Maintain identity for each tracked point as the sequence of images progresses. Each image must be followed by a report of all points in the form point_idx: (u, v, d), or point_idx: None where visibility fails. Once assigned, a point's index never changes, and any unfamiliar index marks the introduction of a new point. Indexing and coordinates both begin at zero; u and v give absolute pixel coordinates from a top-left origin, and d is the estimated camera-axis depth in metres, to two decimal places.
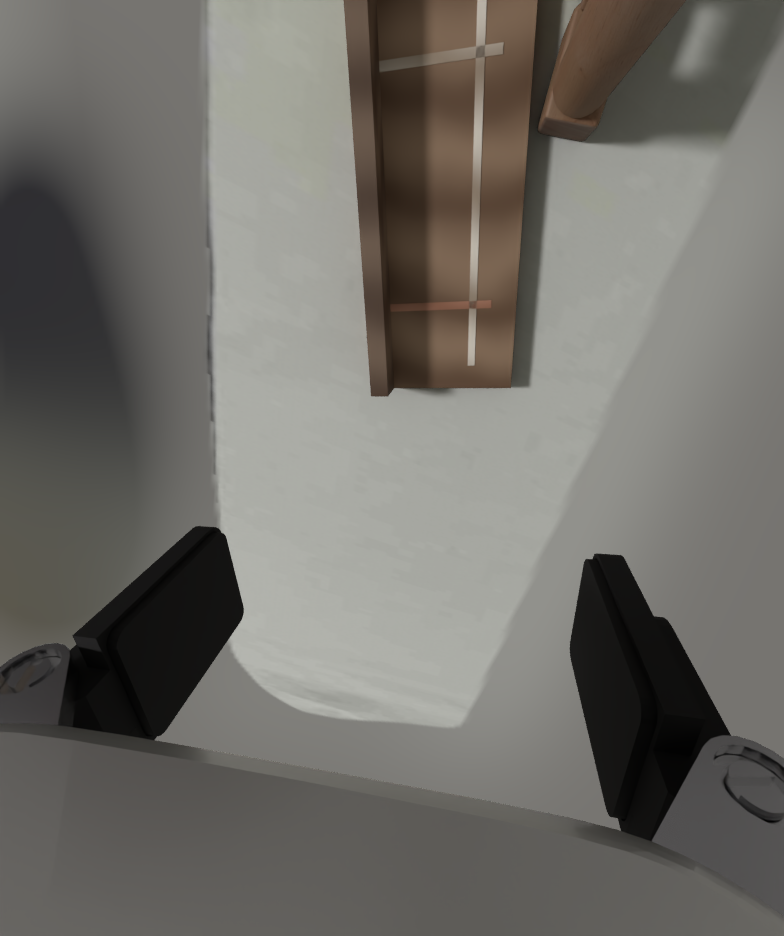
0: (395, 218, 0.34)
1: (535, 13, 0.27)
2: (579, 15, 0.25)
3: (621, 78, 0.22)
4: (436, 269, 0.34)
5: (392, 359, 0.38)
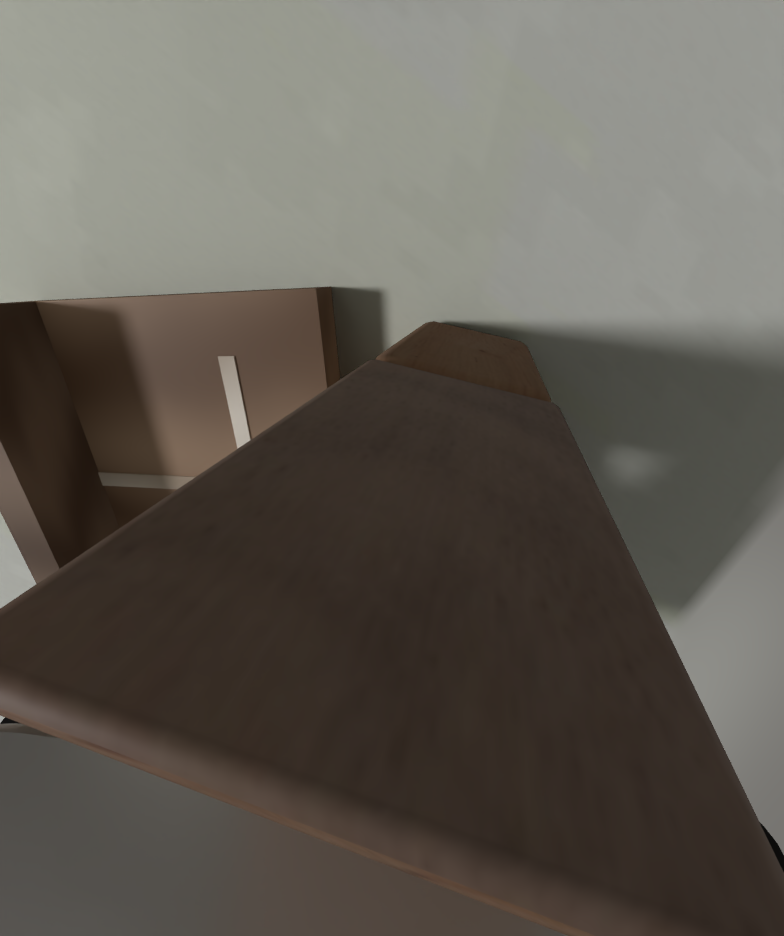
0: None
1: None
2: None
3: None
4: None
5: None
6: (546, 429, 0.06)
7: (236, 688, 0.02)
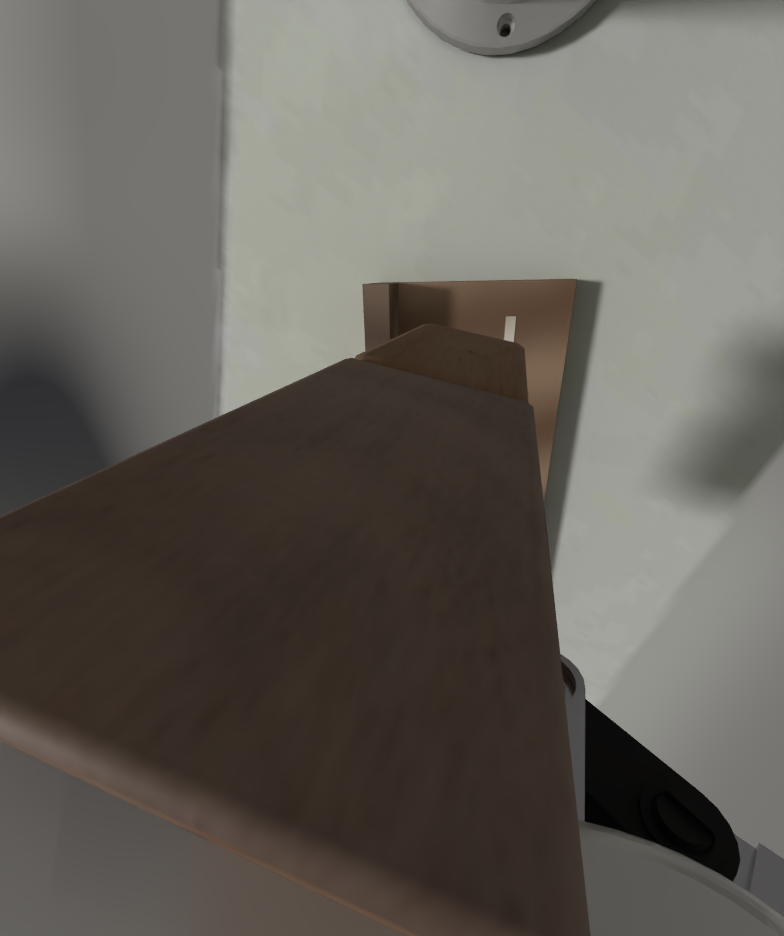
0: None
1: (561, 374, 0.27)
2: None
3: None
4: None
5: None
6: (507, 427, 0.06)
7: (69, 652, 0.02)
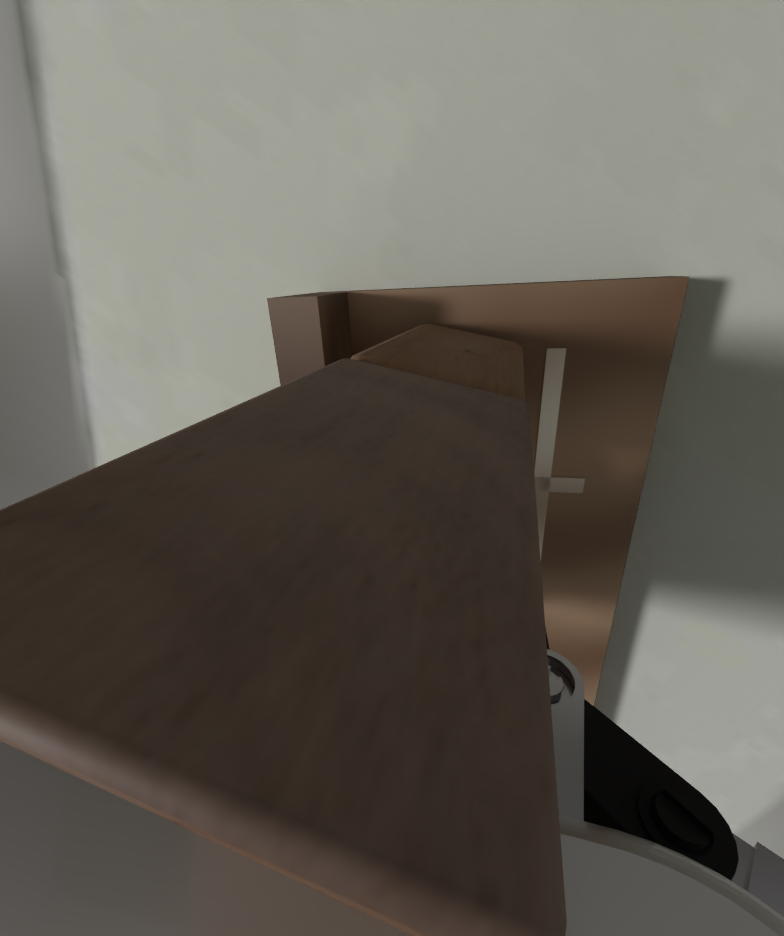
0: None
1: (648, 449, 0.15)
2: None
3: None
4: None
5: None
6: (502, 424, 0.06)
7: (53, 645, 0.02)
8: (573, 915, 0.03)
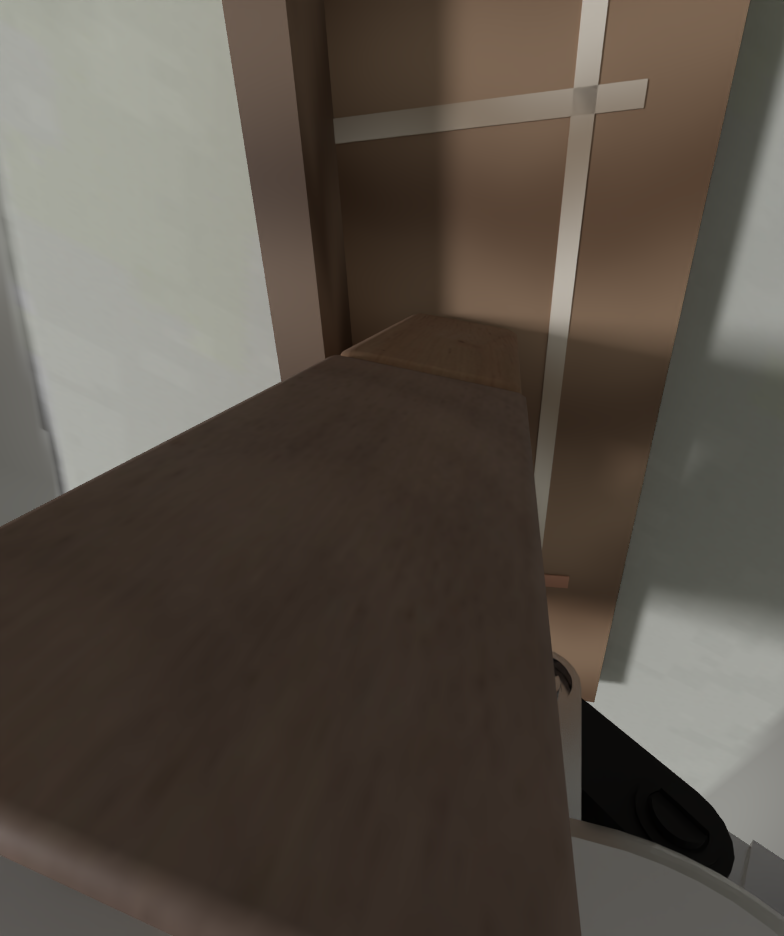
0: None
1: (746, 3, 0.10)
2: None
3: None
4: None
5: None
6: (499, 421, 0.06)
7: (8, 713, 0.02)
8: None
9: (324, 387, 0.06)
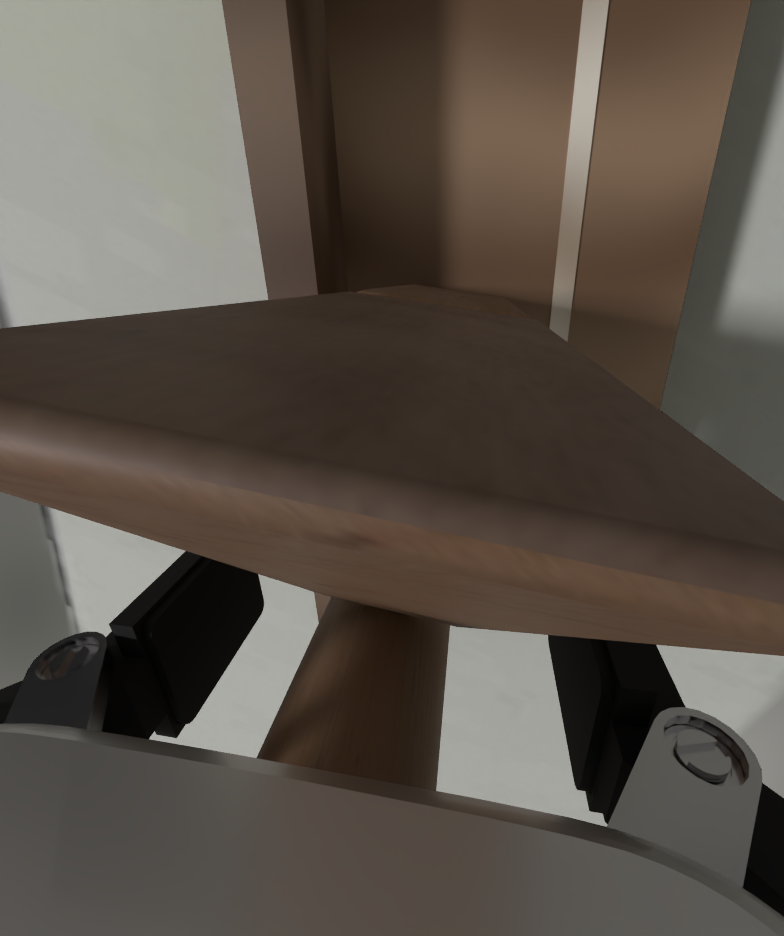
0: None
1: None
2: None
3: None
4: None
5: None
6: (529, 327, 0.06)
7: (136, 393, 0.01)
8: (573, 915, 0.03)
9: (349, 301, 0.06)
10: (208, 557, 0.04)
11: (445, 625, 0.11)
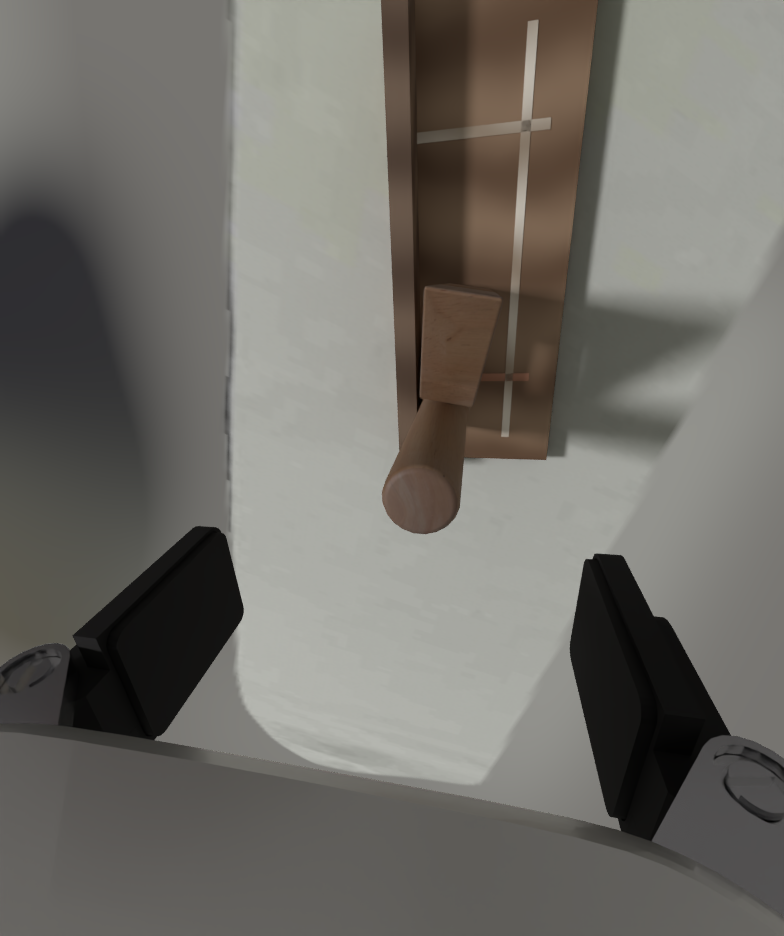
0: None
1: (586, 89, 0.26)
2: None
3: None
4: None
5: None
6: (490, 292, 0.23)
7: (452, 288, 0.19)
8: (573, 915, 0.03)
9: None
10: (426, 334, 0.22)
11: (465, 416, 0.29)
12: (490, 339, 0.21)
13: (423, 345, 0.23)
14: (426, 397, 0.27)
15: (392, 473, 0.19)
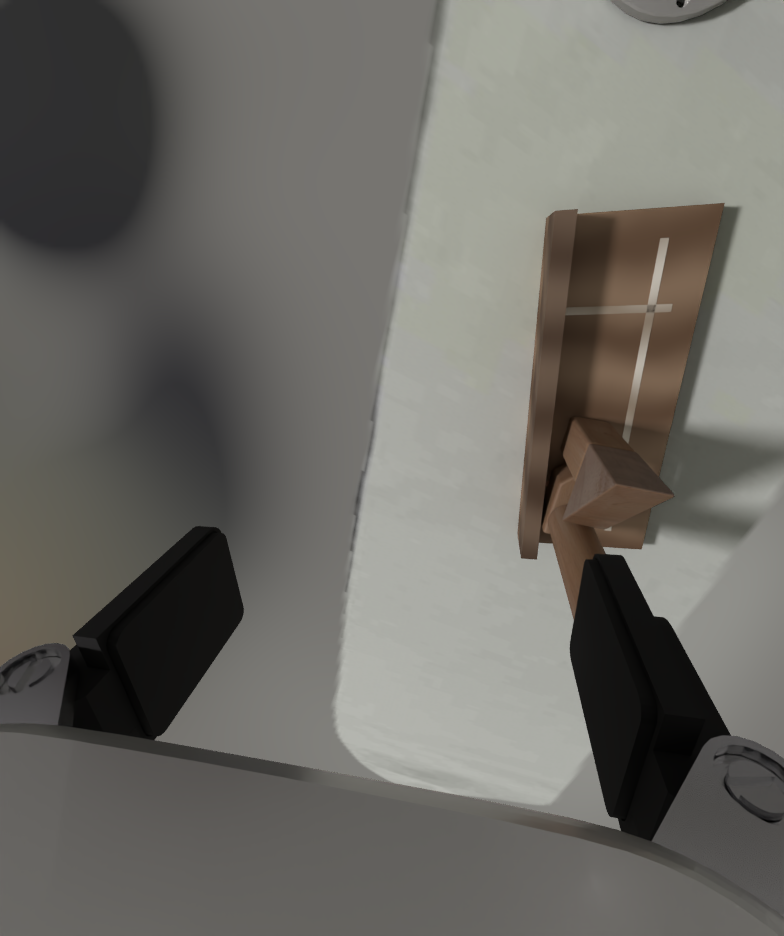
0: (555, 419, 0.39)
1: (703, 286, 0.33)
2: (563, 488, 0.38)
3: None
4: None
5: None
6: (639, 460, 0.30)
7: (635, 484, 0.26)
8: (573, 915, 0.03)
9: (605, 454, 0.30)
10: (597, 500, 0.29)
11: (595, 532, 0.36)
12: None
13: (590, 503, 0.30)
14: (568, 521, 0.35)
15: None
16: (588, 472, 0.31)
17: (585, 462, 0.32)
